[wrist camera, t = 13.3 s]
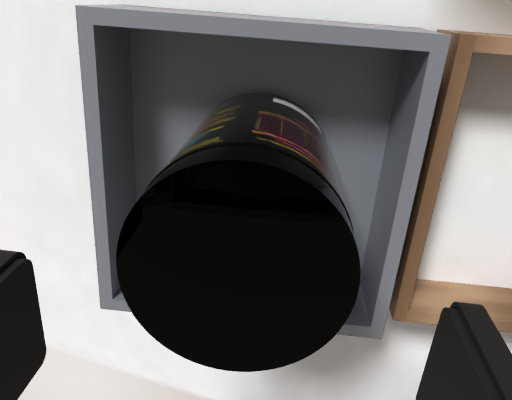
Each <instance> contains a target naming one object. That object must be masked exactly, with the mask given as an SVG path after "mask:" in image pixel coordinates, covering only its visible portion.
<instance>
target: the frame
mask: <svg viewBox="0 0 512 400" xmlns="http://www.w3.org/2000/svg"><path fill="white" fill-rule="evenodd" d="M437 32H440V33H445V34H450V35H451V39H450V44H449V48H448V53H447V57H446V61H445V66H444V70H443V74H442V79H441V83H440V87H439V92H438V96H437V101H436V105H435V109H434V114H433V118H432V122H431V127H430V131H429V135H428V140H427V144H426V149H425V153H424V157H423V162H422V166H421V170H420V175H419V179H418V183H417V188H416V192H415V196H414V201H413V205H412V210H411V214H410V218H409V223H408V227H407V231H406V236H405V240H404V244H403V249H402V253H401V258H400V262H399V266H398V271H397V275H396V279H395V284H394V288H393V292H392V297H391V301H390V306H389V309H390V312H391V315H392V318H393V320H398V321H407V322H417V323H426V324H436V325H437V324H438V321H439V318H440V314H441V311H442V309H443V308H444V307H449V308H450V306H451V304H452V303H453V302H464V303H472V304H481V305H483V306H484V307H485V309H486V310H487V312H488V314H489V316H490V317H491V319H492V321H493V323H494V324H495V326H496V328H497V330H498V331H502V332H511V333H512V289H508V288H498V287H489V286H479V285H469V284H459V283H449V282H440V281H430V280H420V279H416V277H417V273H418V269H419V265H420V261H421V257H422V253H423V249H424V245H425V241H426V237H427V233H428V229H429V225H430V221H431V217H432V213H433V209H434V205H435V201H436V197H437V193H438V189H439V185H440V181H441V177H442V173H443V169H444V165H445V161H446V157H447V153H448V149H449V145H450V141H451V137H452V133H453V129H454V125H455V121H456V117H457V113H458V109H459V105H460V101H461V97H462V93H463V89H464V85H465V81H466V77H467V73H468V69H469V65H470V61H471V57H472V53H473V52H478V53H490V54H503V55H512V35H501V34H488V33H476V32H463V31H450V30H437Z"/></svg>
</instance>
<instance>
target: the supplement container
mask: <svg viewBox="0 0 512 400" xmlns="http://www.w3.org/2000/svg"><path fill="white" fill-rule="evenodd" d="M116 268H117V276H118V280H119V285H120V288H121V291H122V294H123V296H124V298H125V301H126V303H127V305H128V307H129V308H130V310H131V312H132V313H133V315H134V316H135V318H136V319H137V320H138V322H139V323H140V324H141V325H142V326H143V327H144V329H145V330H146V331H147V332H148V333H149V334H150V335H151V336H152V337H154V338H155V339H156V340H157V341H158V342H160V343H161V344H162V345H164V346H165V347H166V348H168V349H170V350H171V351H173V352H174V353H176V354H178V355H180V356H182V357H184V358H186V359H188V360H191V361H193V362H195V363H198V364H201V365H204V366H208V367H212V368H216V369H221V370H227V371H238V372H252V371H264V370H270V369H275V368H279V367H283V366H286V365H289V364H292V363H295V362H297V361H299V360H302V359H304V358H306V357H307V356H309V355H311V354H313V353H314V352H316V351H317V350H319V349H320V348H322V347H323V346H324V345H325V344H327V343H328V342H329V341H330V340H331V339H332V338H333V337H334V336H335V335H336V334H337V333H338V332H339V330H340V329H341V328H342V326H343V325H344V324H345V322H346V321H347V319H348V317H349V316H350V314H351V312H352V309H353V307H354V305H355V302H356V299H357V296H358V291H359V286H360V275H361V270H360V259H359V253H358V248H357V245H356V241H355V237H354V232H353V226H352V222H351V219H350V216H349V213H348V210H347V208H346V206H345V203H344V201H343V197H342V193H341V190H340V186H339V182H338V179H337V175H336V171H335V167H334V164H333V160H332V156H331V153H330V149H329V145H328V142H327V139H326V137H325V134H324V132H323V130H322V129H321V127H320V125H319V124H318V122H317V121H316V120H315V119H314V118H313V116H312V115H311V114H310V113H309V112H307V111H306V110H305V109H304V108H303V107H301V106H300V105H298V104H297V103H295V102H293V101H291V100H289V99H287V98H284V97H281V96H278V95H273V94H266V93H251V94H245V95H240V96H237V97H234V98H231V99H229V100H227V101H225V102H223V103H221V104H220V105H218V106H217V107H216V108H214V109H213V110H212V111H211V112H210V113H209V114H208V115H207V116H206V117H205V118H204V119H203V120H202V122H201V123H200V124H199V126H198V127H197V128H196V129H195V131H194V132H193V133H192V134H191V136H190V137H189V138H188V139H187V141H186V142H185V143H184V144H183V146H182V147H181V148H180V149H179V151H178V152H177V153H176V155H175V156H174V157H173V158H172V160H171V161H170V162H169V163H168V165H167V166H166V167H165V168H164V169H162V170H161V171H160V172H159V173H158V174H157V176H156V177H155V178H154V179H153V180H152V181H151V183H150V184H149V185H148V187H147V188H146V190H145V191H144V193H143V194H142V196H141V197H140V198H139V199H138V201H137V202H136V203H135V204H134V206H133V207H132V209H131V210H130V212H129V213H128V215H127V217H126V219H125V221H124V223H123V226H122V229H121V231H120V234H119V239H118V243H117V251H116Z"/></svg>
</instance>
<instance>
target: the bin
mask: <svg viewBox="0 0 512 400" xmlns="http://www.w3.org/2000/svg"><path fill="white" fill-rule="evenodd" d="M75 7H76V19H77V31H78V43H79V55H80V67H81V79H82V91H83V103H84V115H85V127H86V139H87V151H88V163H89V175H90V187H91V199H92V211H93V223H94V235H95V247H96V259H97V271H98V283H99V296H100V308H101V309H109V310H119V311H128V312H131V310H130V308H129V307H128V305H127V303H126V301H125V298H124V296H123V294H122V291H121V288H120V285H119V280H118V276H117V268H116V251H117V243H118V239H119V234H120V231H121V229H122V226H123V223H124V221H125V219H126V217H127V215H128V213H129V212H130V210H131V209H132V207H133V206H134V204H135V203H136V202H137V201H138V199H139V198H140V197H141V196H142V194H143V193H144V191H145V190H146V188H147V187H148V185H149V184H150V183H151V181H152V180H153V179H154V178H155V177H156V176H157V174H158V173H159V172H160V171H161V170H162V169H164V168H165V167H166V166H167V165H168V163H169V162H170V161H171V160H172V158H173V157H174V156H175V155H176V153H177V152H178V151H179V149H180V148H181V147H182V146H183V144H184V143H185V142H186V141H187V139H188V138H189V137H190V136H191V134H192V133H193V132H194V131H195V129H196V128H197V127H198V126H199V124H200V123H201V122H202V120H203V119H204V118H205V117H206V116H207V115H208V114H209V113H210V112H211V111H212V110H213V109H214V108H216V107H217V106H218V105H220V104H221V103H223V102H225V101H227V100H229V99H231V98H234V97H237V96H240V95H245V94H251V93H266V94H273V95H278V96H281V97H284V98H287V99H289V100H291V101H293V102H295V103H297V104H298V105H300V106H301V107H303V108H304V109H305V110H306V111H307V112H309V113H310V114H311V115H312V116H313V118H314V119H315V120H316V121H317V122H318V124H319V125H320V127H321V129H322V130H323V132H324V134H325V137H326V139H327V142H328V145H329V149H330V153H331V156H332V160H333V164H334V167H335V171H336V175H337V179H338V182H339V186H340V190H341V193H342V197H343V201H344V203H345V206H346V208H347V210H348V213H349V216H350V219H351V222H352V226H353V232H354V237H355V241H356V245H357V248H358V253H359V259H360V270H361V275H360V286H359V291H358V296H357V299H356V302H355V305H354V307H353V309H352V312H351V314H350V316H349V317H348V319H347V321H346V322H345V324H344V325H343V326H342V328H341V329H340V330H339V332H338V333H337V334H341V335H350V336H359V337H369V338H378V339H382V336H383V332H384V327H385V323H386V319H387V314H388V310H389V306H390V301H391V297H392V292H393V288H394V284H395V279H396V275H397V271H398V266H399V262H400V258H401V253H402V249H403V244H404V240H405V236H406V231H407V227H408V223H409V218H410V214H411V210H412V205H413V201H414V196H415V192H416V188H417V183H418V179H419V175H420V170H421V166H422V162H423V157H424V153H425V149H426V144H427V140H428V135H429V131H430V127H431V122H432V118H433V114H434V109H435V105H436V101H437V96H438V92H439V87H440V83H441V79H442V74H443V70H444V66H445V61H446V57H447V53H448V48H449V44H450V39H451V35H450V34H445V33H440V32H435V31H430V30H426V29H421V28H412V27H399V26H386V25H373V24H360V23H347V22H335V21H322V20H309V19H296V18H283V17H270V16H258V15H245V14H232V13H219V12H206V11H193V10H181V9H168V8H155V7H142V6H129V5H75Z"/></svg>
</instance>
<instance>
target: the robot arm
mask: <svg viewBox="0 0 512 400" xmlns="http://www.w3.org/2000/svg"><path fill="white" fill-rule="evenodd" d="M45 355H46V345H45V339H44V332H43V326H42V320H41V314H40V308H39V301H38V295H37V289H36V283H35V276H34V270H33V265H32V262H31V261H30V260H28V259H26V256H25V255H24V254H23V253H21V252H14V251H6V250H0V400H17V399H18V398H19V396H20V395H21V394H22V392H23V391H24V389H25V388H26V386H27V385H28V384H29V382H30V381H31V379H32V378H33V377H34V375H35V374H36V372H37V371H38V369H39V368H40V367H41V365H42V364H43V361H44V359H45ZM416 400H512V354H511V352H510V350H509V349H508V347H507V345H506V343H505V342H504V340H503V338H502V337H501V335H500V333H499V331H498V330H497V328H496V326H495V324H494V323H493V321H492V319H491V317H490V316H489V314H488V312H487V310H486V309H485V307H484V306H483V305H481V304H472V303H464V302H453V303H452V304H451V306H450V308H449V307H444V308H443V309H442V311H441V314H440V318H439V321H438V324H437V328H436V331H435V335H434V338H433V341H432V345H431V348H430V352H429V355H428V358H427V362H426V365H425V368H424V372H423V375H422V379H421V382H420V385H419V389H418V392H417V396H416Z"/></svg>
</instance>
